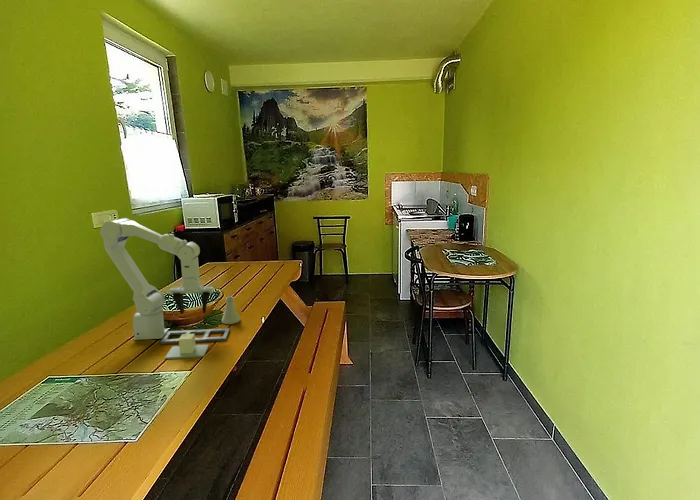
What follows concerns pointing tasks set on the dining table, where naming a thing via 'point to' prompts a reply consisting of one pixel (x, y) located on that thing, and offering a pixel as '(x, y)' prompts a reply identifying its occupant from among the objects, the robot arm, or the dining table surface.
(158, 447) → the dining table surface
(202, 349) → the pad
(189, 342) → the peg
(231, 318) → the flask
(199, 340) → the grey slotted frame
